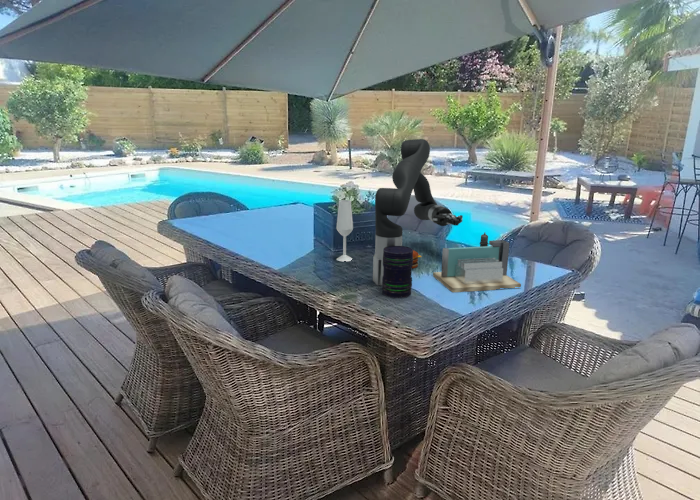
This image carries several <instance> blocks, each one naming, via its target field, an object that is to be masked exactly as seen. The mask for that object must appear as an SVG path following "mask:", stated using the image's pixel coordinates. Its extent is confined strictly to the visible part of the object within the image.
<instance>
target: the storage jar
mask: <svg viewBox="0 0 700 500" xmlns="http://www.w3.org/2000/svg"><path fill="white" fill-rule="evenodd" d="M413 250H414V249H413V248H412V247H410V246H404V245H402V246H388V247H385V248H384V249H383V252H384V253H383V266H384V270H383V277H382V286H381V288H382V290H381V293H382V295H383V296H385V297H387V298H393V299H405V298H408V297H410V296H411V295H412V287H413V277H412V272H413V270H412V266H413Z"/></svg>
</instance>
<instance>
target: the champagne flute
mask: <svg viewBox="0 0 700 500" xmlns="http://www.w3.org/2000/svg"><path fill="white" fill-rule="evenodd" d="M335 228H336V230H337V232H338V233H339V234H340V235H341V236H342V239H343V240H342V242H343V243H342V244H343V245H342V247H343V248H342V252H343V253H342V255H340V256H338V257H337V258H336V261H339V262H344V261H346V262H351V260H352V259H353V258H352V257H351V256H349V255H347V236H349V235H350V234H351V233H352V231H353V229H354V221H353V209H352V200H349V199H340V200H338V209H337V218H336V227H335ZM352 261H353V260H352Z"/></svg>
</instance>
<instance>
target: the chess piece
mask: <svg viewBox="0 0 700 500" xmlns="http://www.w3.org/2000/svg"><path fill="white" fill-rule="evenodd" d="M488 245H490V244H489V235H487V233H486V232H484V233H483V234H481V235H480V242H479V247H485V246H488Z"/></svg>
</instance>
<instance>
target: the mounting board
mask: <svg viewBox="0 0 700 500" xmlns="http://www.w3.org/2000/svg"><path fill="white" fill-rule="evenodd" d="M432 277H433V278H434V279H436V280H437V281H438V282H439V283H441V284H442V286H444V287H445V288H447V289H448V290H449V291H450V292H451V293H466V292H467V293H468V292H477V291H478V292H482V291H484V292H485V291H497V290H496V289H500V288H515V287H521V286H522V283H520V282H518V281H517V280H516V279H514V278H512V277H510V276H509V275H503V278H502V282H497V283H481V284H463V283H462V282H460V281H459V280H458V279H456V278H455V276H448V277H442V276H441V271H435V272H434V271H433V273H432ZM521 288H522V287H521ZM515 289H516V288H515ZM500 290H501V289H500Z"/></svg>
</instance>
